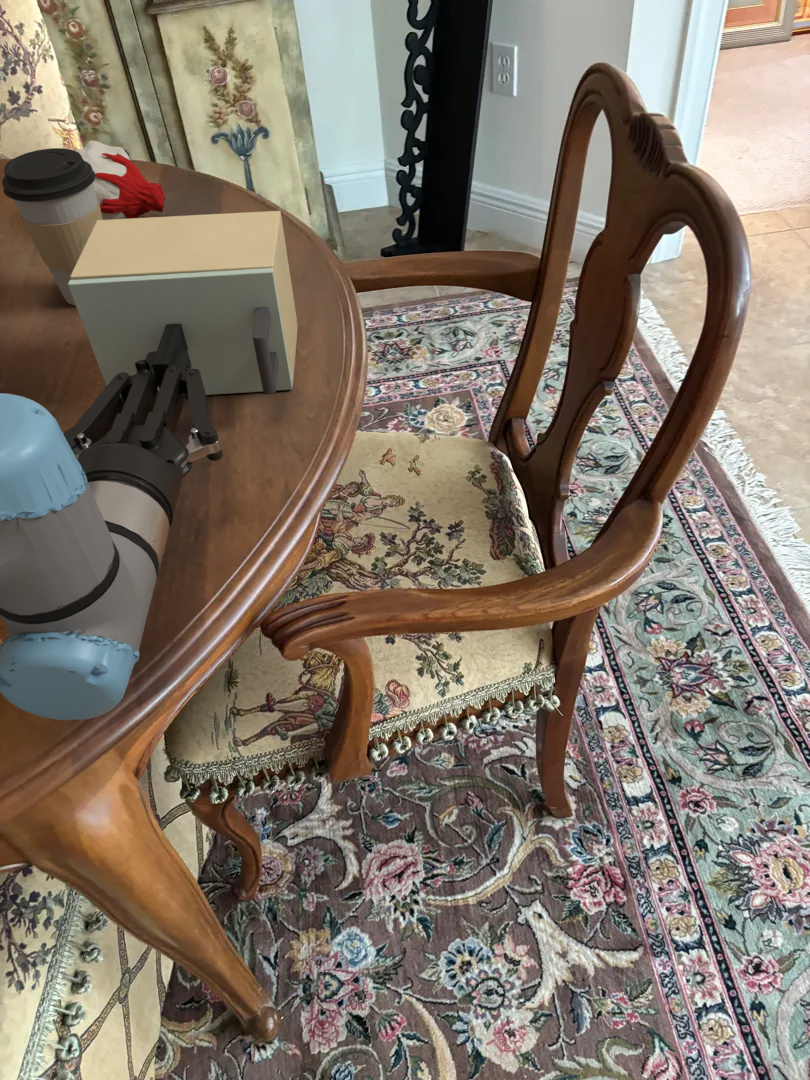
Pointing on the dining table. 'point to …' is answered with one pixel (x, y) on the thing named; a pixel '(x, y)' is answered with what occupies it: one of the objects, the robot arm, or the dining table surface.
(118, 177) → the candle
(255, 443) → the dining table surface
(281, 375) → the cupboard door
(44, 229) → the coffee cup
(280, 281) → the cupboard
